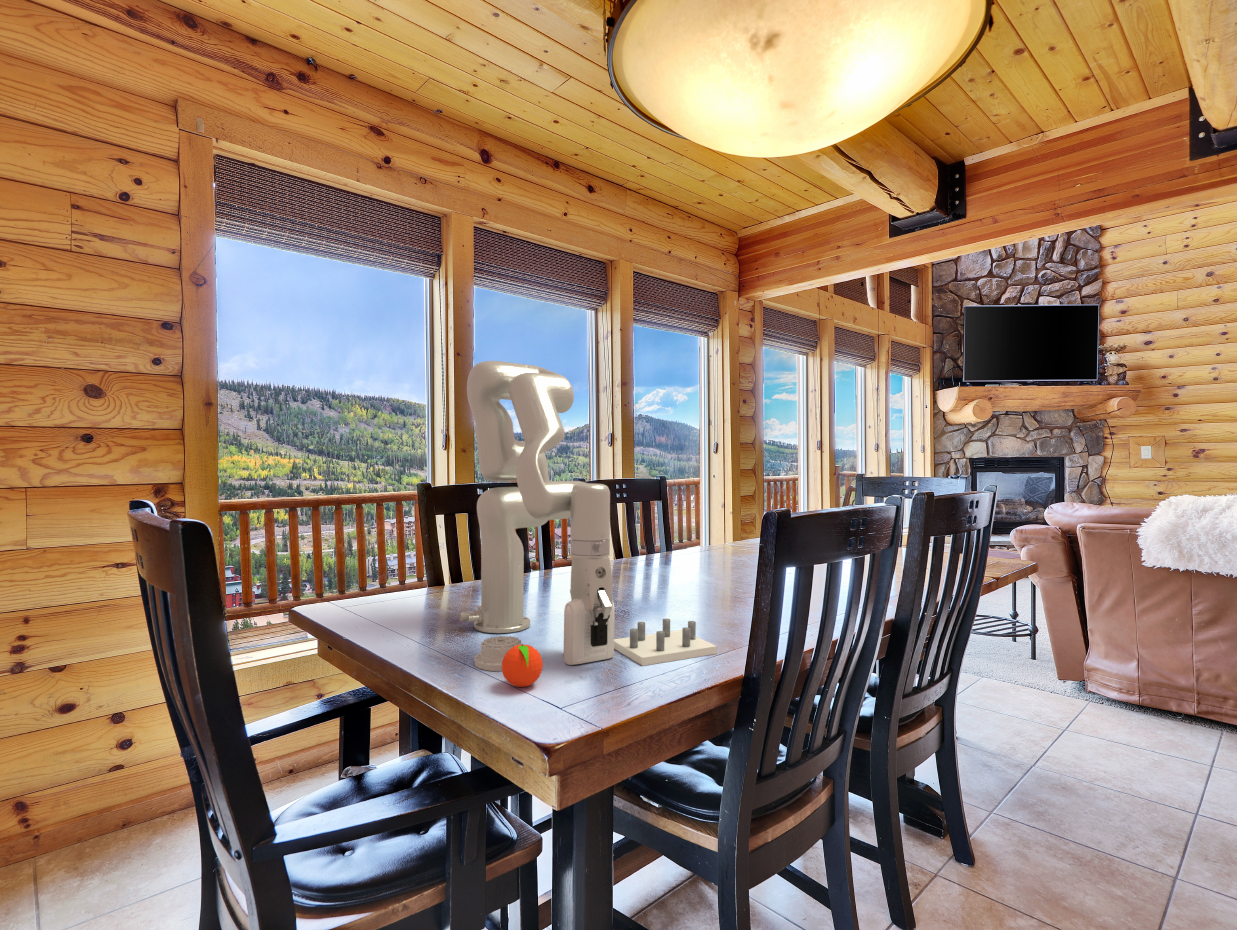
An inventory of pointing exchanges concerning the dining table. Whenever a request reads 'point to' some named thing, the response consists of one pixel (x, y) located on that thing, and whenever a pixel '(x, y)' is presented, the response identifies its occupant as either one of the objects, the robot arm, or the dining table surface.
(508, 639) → the mechanical component
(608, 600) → the robot arm
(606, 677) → the dining table surface
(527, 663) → the clementine
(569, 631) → the photo printer
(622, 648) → the pin tray
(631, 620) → the dining table surface
